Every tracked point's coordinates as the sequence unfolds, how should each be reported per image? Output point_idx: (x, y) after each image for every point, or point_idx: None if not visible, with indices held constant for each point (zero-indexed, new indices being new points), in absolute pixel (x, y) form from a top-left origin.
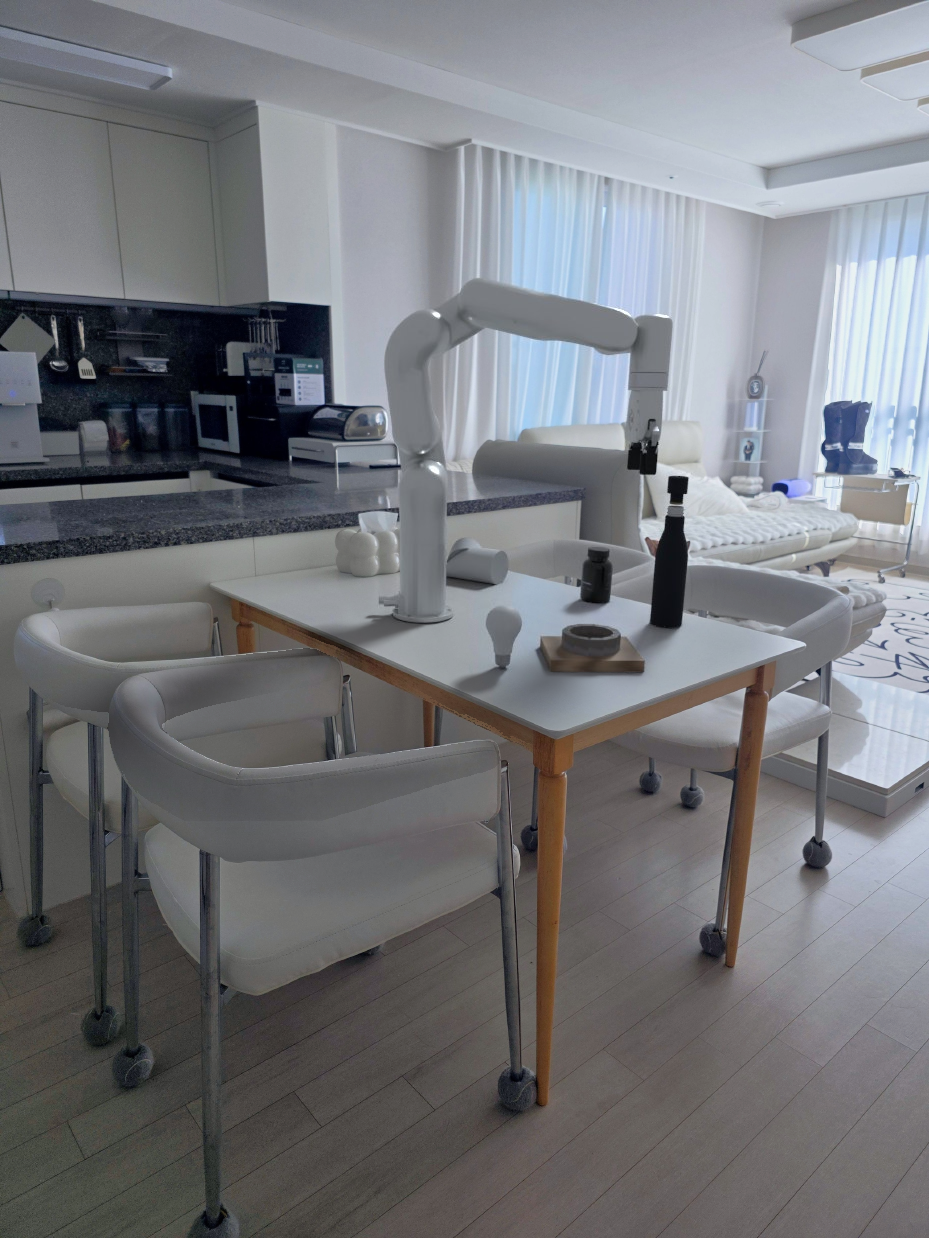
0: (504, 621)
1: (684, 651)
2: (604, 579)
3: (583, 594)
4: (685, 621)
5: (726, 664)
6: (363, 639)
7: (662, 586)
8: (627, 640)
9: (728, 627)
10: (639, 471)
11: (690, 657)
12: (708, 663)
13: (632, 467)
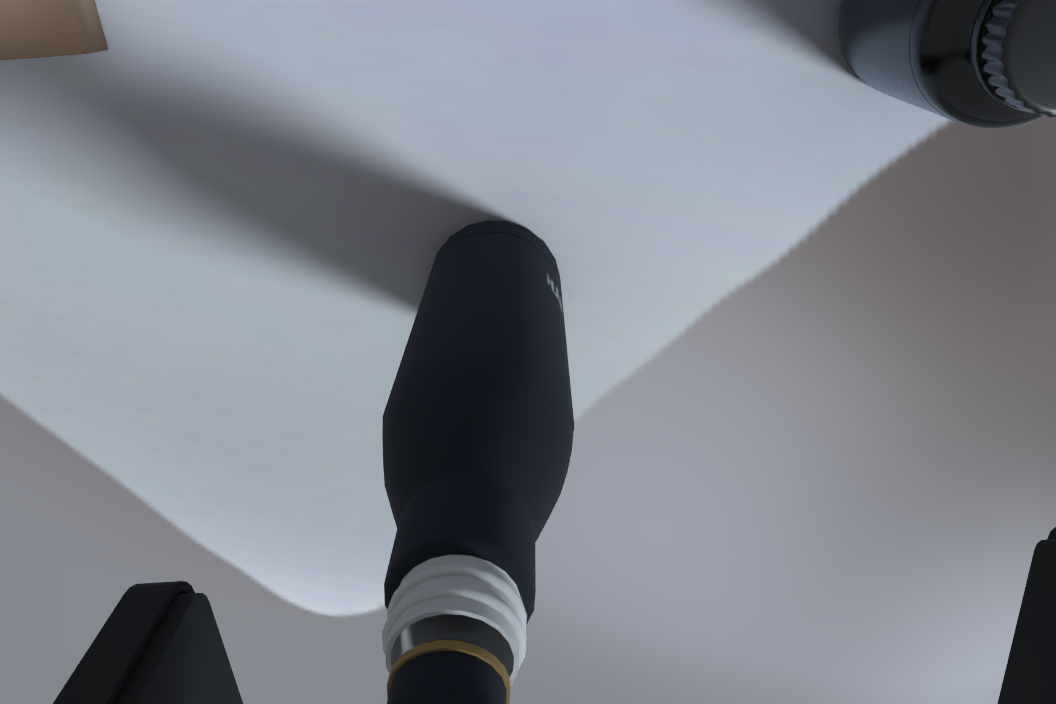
0: None
1: (122, 276)
2: (887, 59)
3: None
4: None
5: (15, 380)
6: None
7: (419, 313)
8: (26, 50)
9: None
10: (153, 604)
11: (53, 282)
12: (4, 326)
13: (1045, 613)
